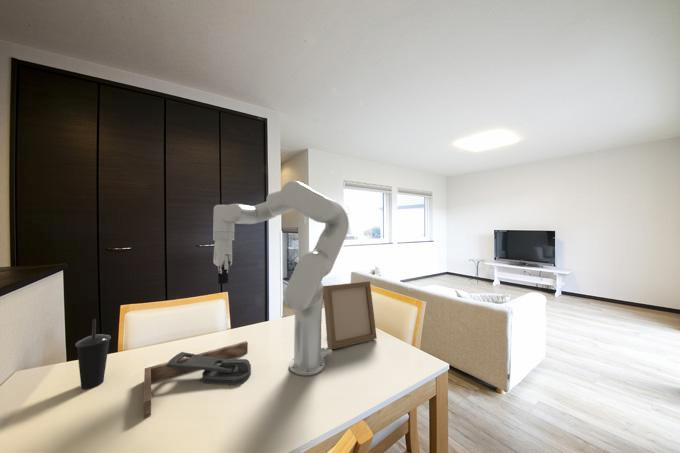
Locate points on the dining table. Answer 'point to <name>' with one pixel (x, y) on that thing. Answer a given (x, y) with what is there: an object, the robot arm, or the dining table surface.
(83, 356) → the drinking cup
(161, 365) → the wooden l-shaped bracket
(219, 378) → the zipper pull
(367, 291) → the photo frame
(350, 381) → the dining table surface
